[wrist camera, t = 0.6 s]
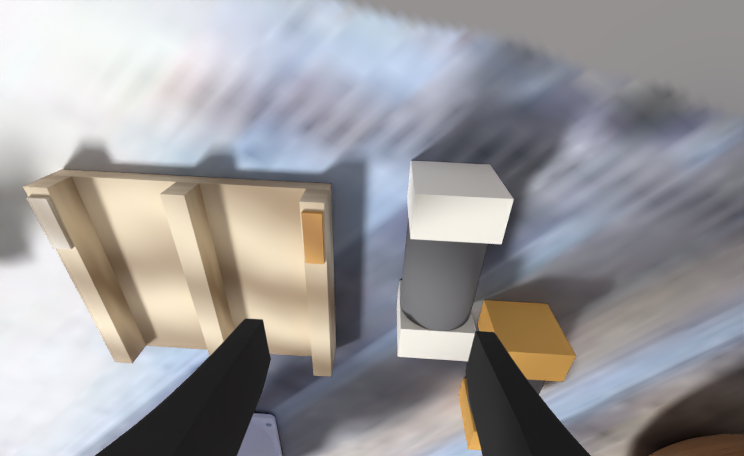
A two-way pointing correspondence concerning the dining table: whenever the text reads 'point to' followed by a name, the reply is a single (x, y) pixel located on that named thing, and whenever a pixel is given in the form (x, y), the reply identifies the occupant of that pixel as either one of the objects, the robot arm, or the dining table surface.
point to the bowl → (706, 446)
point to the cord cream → (446, 255)
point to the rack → (195, 258)
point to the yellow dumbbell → (522, 348)
